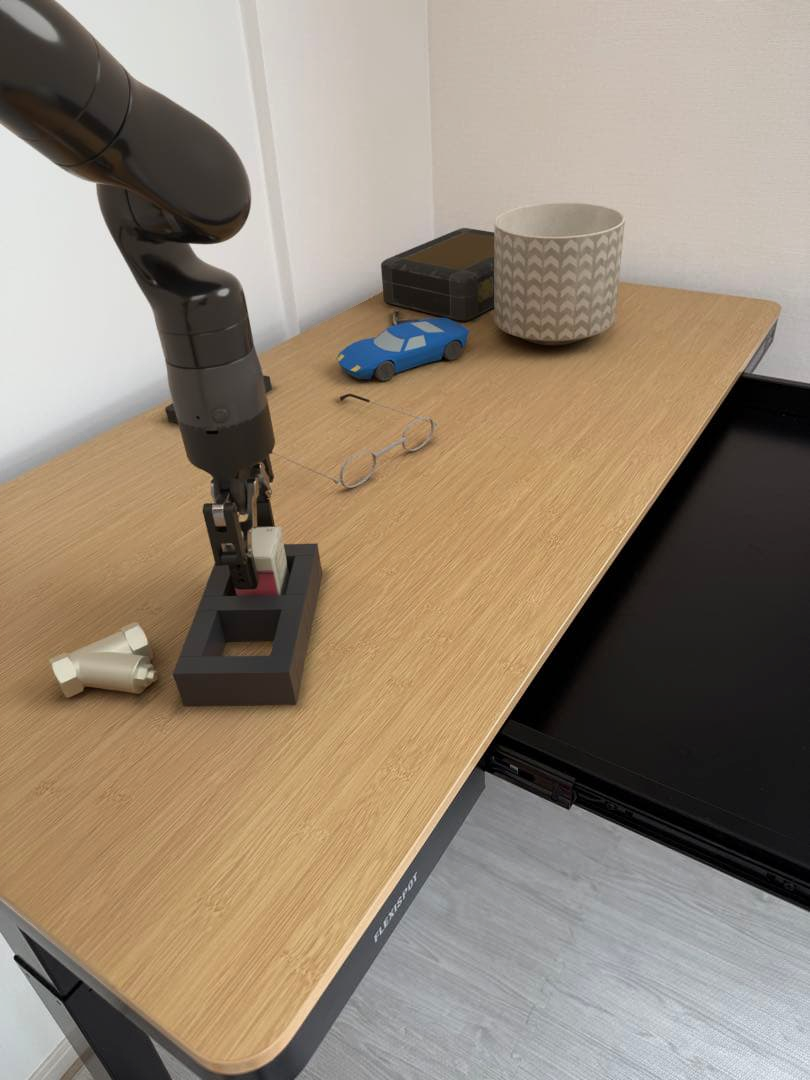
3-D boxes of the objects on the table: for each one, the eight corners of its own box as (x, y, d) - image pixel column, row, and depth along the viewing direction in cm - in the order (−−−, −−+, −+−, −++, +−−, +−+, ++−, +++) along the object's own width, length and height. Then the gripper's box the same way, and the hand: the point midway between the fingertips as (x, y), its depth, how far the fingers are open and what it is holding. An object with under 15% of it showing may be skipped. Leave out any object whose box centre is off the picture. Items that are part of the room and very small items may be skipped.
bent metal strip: (426, 314, 136) (407, 323, 133) (427, 322, 136) (407, 331, 134) (395, 307, 140) (376, 315, 137) (396, 314, 141) (376, 323, 138)
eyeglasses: (341, 498, 93) (336, 469, 91) (243, 453, 104) (237, 426, 102) (441, 437, 103) (439, 409, 101) (342, 403, 115) (338, 377, 112)
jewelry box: (460, 265, 160) (459, 225, 156) (546, 281, 149) (548, 239, 144) (377, 302, 145) (374, 260, 141) (466, 324, 134) (465, 279, 130)
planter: (632, 351, 121) (645, 228, 110) (511, 366, 120) (513, 243, 109) (589, 308, 136) (598, 197, 126) (482, 321, 135) (481, 209, 124)
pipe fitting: (170, 688, 71) (143, 643, 75) (161, 659, 68) (133, 614, 72) (81, 731, 67) (58, 681, 72) (67, 702, 65) (45, 652, 69)
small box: (251, 589, 81) (236, 525, 76) (293, 587, 80) (280, 524, 76) (241, 622, 77) (225, 558, 72) (285, 621, 76) (272, 556, 72)
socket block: (296, 704, 68) (289, 672, 65) (183, 706, 68) (172, 673, 66) (322, 573, 82) (317, 542, 80) (228, 576, 83) (221, 545, 80)
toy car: (330, 369, 123) (326, 338, 120) (441, 336, 131) (440, 307, 128) (358, 390, 116) (355, 358, 113) (473, 354, 124) (473, 324, 121)
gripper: (198, 368, 71) (233, 516, 81) (150, 447, 60) (198, 609, 69) (280, 364, 71) (306, 514, 80) (248, 444, 59) (282, 608, 69)
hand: (256, 558), depth 75 cm, fingers open, 8 cm apart
